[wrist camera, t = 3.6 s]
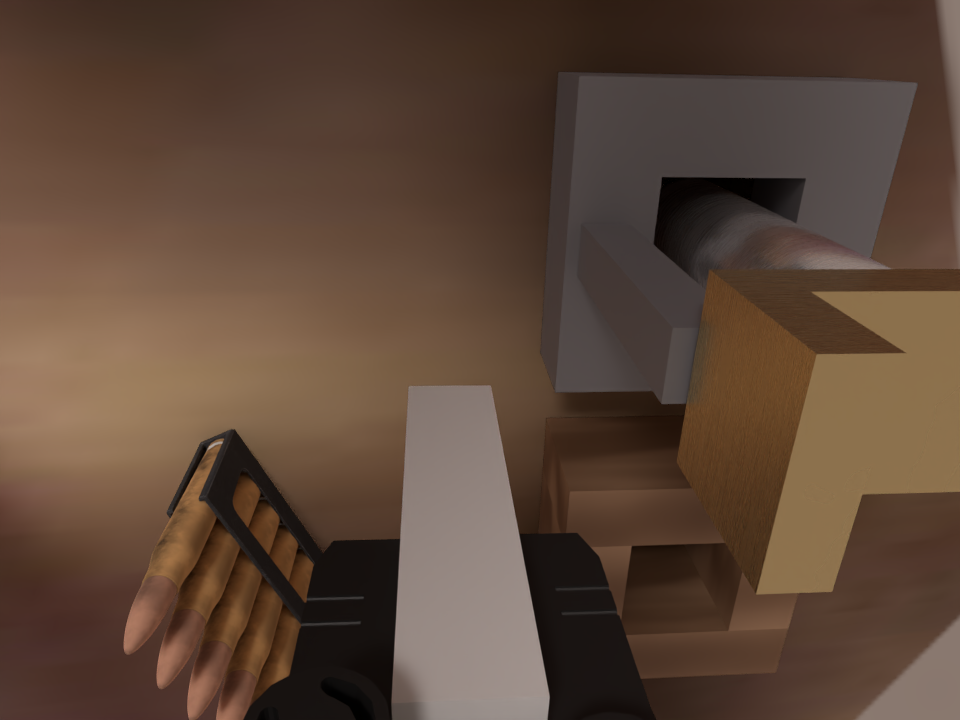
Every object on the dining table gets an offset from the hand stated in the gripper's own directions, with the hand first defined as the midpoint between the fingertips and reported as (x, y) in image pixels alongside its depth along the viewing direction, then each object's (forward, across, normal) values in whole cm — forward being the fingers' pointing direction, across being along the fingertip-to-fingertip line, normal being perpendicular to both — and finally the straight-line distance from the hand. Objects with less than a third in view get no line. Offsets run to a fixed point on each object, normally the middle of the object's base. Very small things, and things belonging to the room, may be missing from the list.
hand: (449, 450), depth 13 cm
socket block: (+18, +11, 0) cm, 21 cm away
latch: (+3, +11, 0) cm, 11 cm away
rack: (+18, +11, -15) cm, 25 cm away
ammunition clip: (+18, -8, -15) cm, 25 cm away
